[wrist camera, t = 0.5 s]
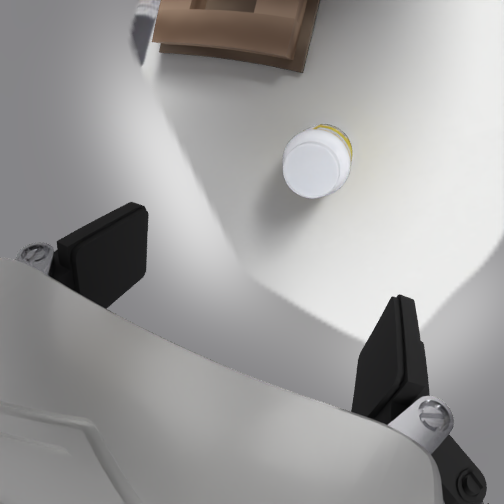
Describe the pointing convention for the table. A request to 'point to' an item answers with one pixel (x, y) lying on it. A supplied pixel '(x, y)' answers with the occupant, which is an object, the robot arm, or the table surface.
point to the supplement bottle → (317, 161)
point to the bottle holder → (238, 30)
